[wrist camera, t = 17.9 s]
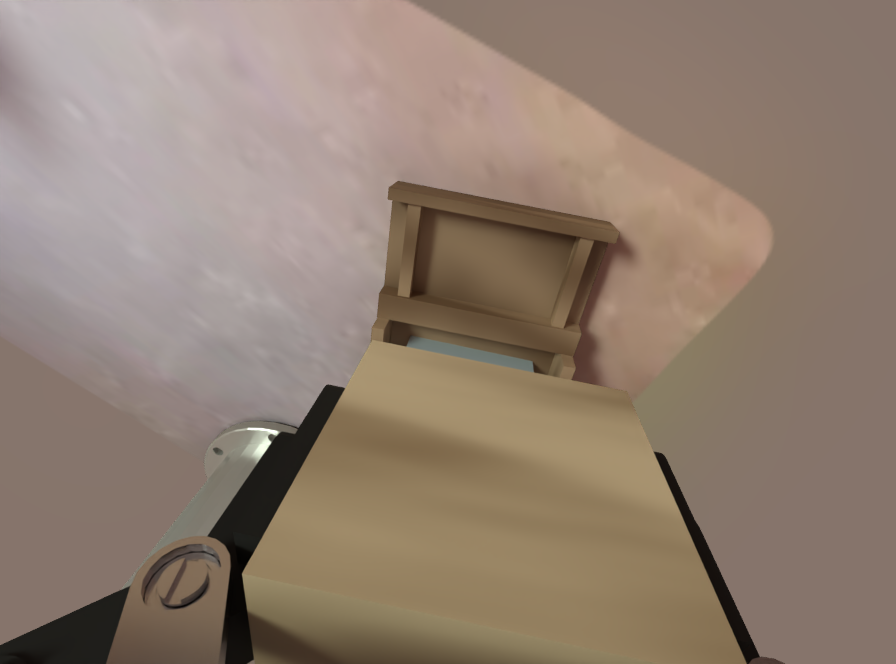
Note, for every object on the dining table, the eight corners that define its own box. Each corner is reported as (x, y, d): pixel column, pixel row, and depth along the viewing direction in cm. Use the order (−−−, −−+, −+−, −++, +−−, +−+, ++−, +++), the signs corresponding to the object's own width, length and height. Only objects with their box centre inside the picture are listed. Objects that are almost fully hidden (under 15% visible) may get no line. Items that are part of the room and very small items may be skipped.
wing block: (576, 497, 12) (631, 789, 7) (362, 452, 12) (260, 705, 7) (626, 391, 10) (756, 684, 5) (372, 339, 10) (241, 572, 5)
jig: (536, 426, 30) (540, 462, 27) (376, 394, 31) (362, 425, 27) (609, 221, 23) (626, 239, 20) (398, 180, 23) (382, 192, 20)
